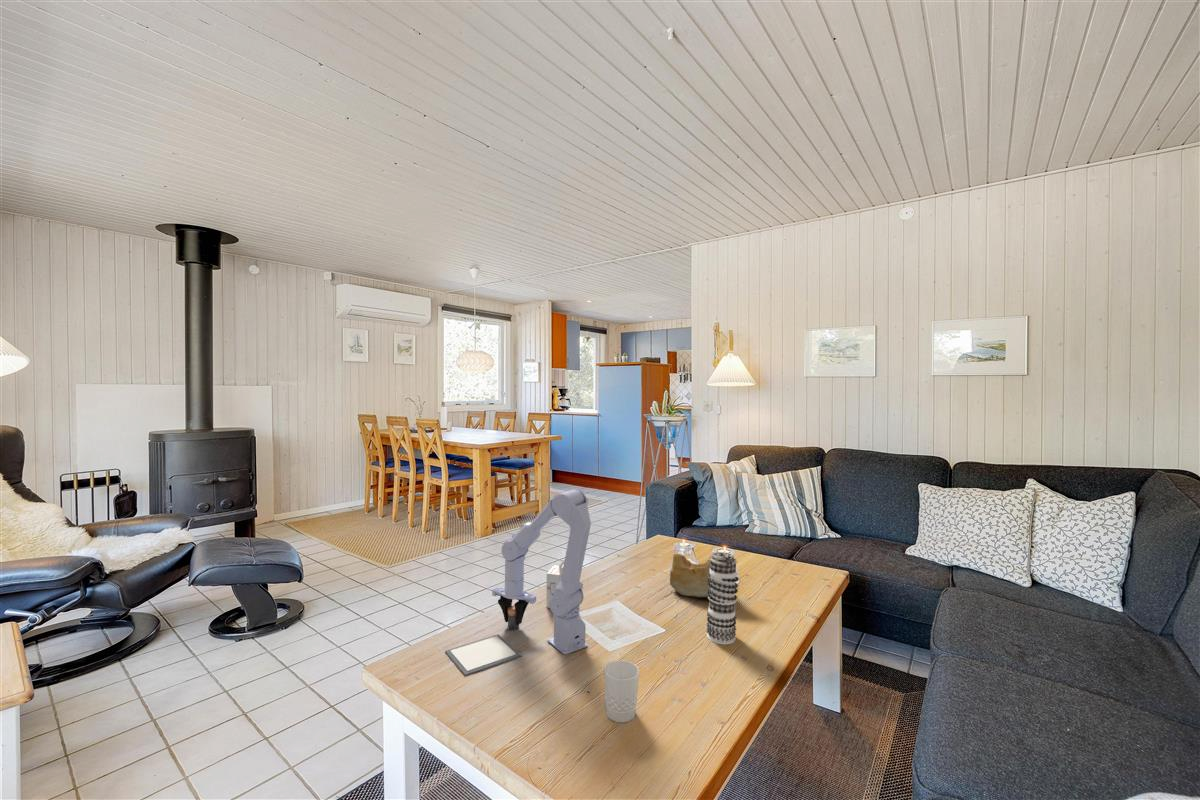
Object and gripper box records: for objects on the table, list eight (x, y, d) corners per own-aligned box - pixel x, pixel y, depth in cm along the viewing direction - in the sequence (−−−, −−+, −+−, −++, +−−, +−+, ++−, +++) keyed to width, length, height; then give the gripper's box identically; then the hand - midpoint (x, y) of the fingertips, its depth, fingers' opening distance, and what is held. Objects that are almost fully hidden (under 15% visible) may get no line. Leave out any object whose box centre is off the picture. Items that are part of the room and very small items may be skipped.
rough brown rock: (744, 597, 179) (745, 555, 180) (727, 609, 166) (728, 564, 167) (686, 583, 193) (687, 544, 194) (666, 593, 179) (667, 552, 180)
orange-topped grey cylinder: (521, 628, 151) (521, 608, 151) (510, 631, 149) (511, 611, 148) (515, 623, 154) (516, 604, 154) (505, 626, 151) (505, 607, 151)
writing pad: (521, 656, 135) (521, 654, 135) (465, 676, 125) (465, 673, 125) (498, 635, 146) (498, 633, 146) (445, 652, 136) (445, 650, 136)
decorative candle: (739, 633, 150) (741, 552, 150) (734, 648, 142) (736, 561, 141) (709, 627, 154) (711, 547, 154) (702, 640, 146) (704, 556, 145)
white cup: (601, 702, 116) (602, 660, 116) (635, 701, 116) (636, 659, 116) (605, 725, 108) (606, 680, 108) (640, 724, 109) (641, 679, 108)
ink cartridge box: (552, 597, 174) (553, 556, 173) (566, 599, 173) (567, 557, 172) (545, 607, 165) (546, 564, 165) (559, 609, 164) (560, 565, 164)
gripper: (541, 577, 152) (540, 621, 152) (501, 570, 157) (500, 612, 158) (529, 585, 145) (528, 631, 146) (488, 577, 151) (487, 621, 151)
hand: (513, 622), depth 151 cm, fingers closed on orange-topped grey cylinder, 3 cm apart
